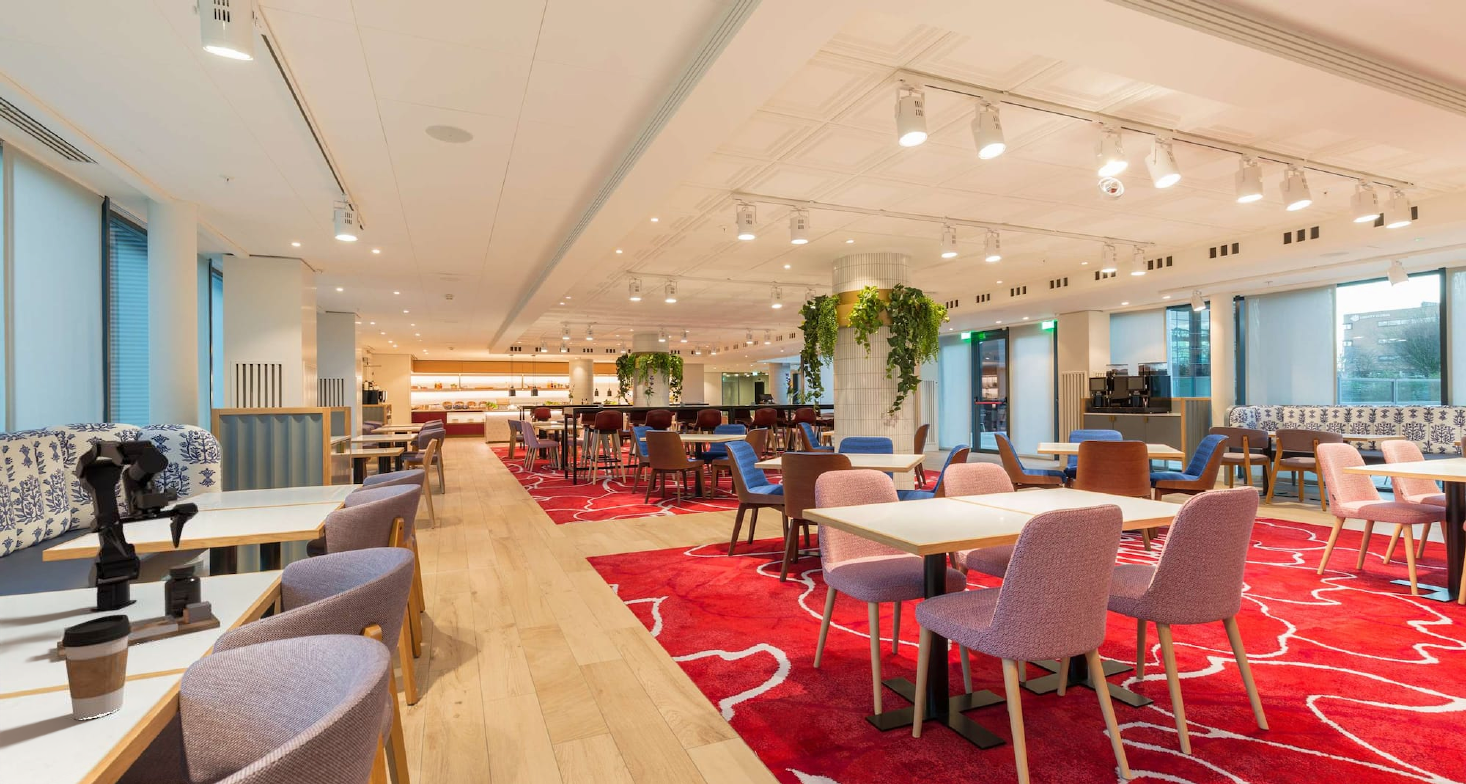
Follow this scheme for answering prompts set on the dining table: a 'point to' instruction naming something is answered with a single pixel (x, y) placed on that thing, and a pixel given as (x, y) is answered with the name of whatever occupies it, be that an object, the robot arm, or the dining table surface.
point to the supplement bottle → (181, 590)
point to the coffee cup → (97, 664)
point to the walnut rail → (168, 626)
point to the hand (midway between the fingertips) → (152, 551)
